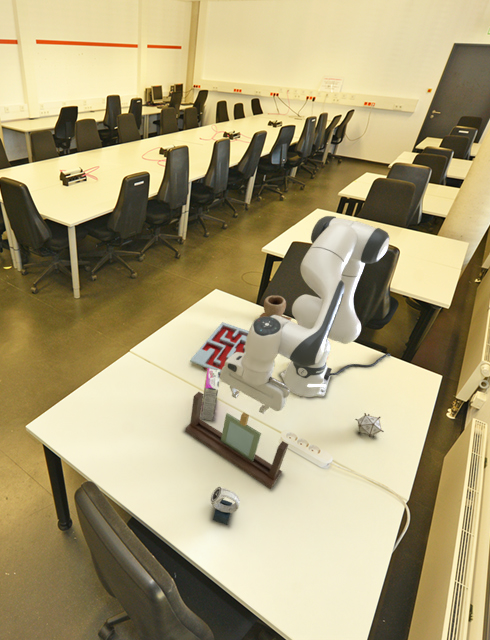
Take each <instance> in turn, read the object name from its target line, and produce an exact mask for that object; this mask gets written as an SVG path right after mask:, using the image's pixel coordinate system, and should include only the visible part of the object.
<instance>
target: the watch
mask: <svg viewBox="0 0 490 640" xmlns="http://www.w3.org/2000/svg"><path fill="white" fill-rule="evenodd" d="M225 498H226V499H230V500H231V501H233V502H234V503H233V502H231V501H228V500H226V499H225ZM210 504H211V505H212V507H213V508H214V513H213V517H212V521H215V522H217V523H220V524H222V525H225V526H228V525H229V520H230V517H231V514H232V513H235V512H237V511H238V509H239V508H240V498H239V496H238V495H237V494H236V493H235V492H234V491H232V490H230V489H227V488H226V487H221V486H218V487H216V488H215V489H214V490H213V492H212V493H211V496H210Z"/></svg>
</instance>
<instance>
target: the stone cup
mask: <svg viewBox="0 0 490 640" xmlns="http://www.w3.org/2000/svg"><path fill="white" fill-rule="evenodd" d="M286 308H287V301H286V299H285V298H284V297H283V296H281V295H273V294H272V295H269V296H267V297H266V298H265V299H264V301H263V311H264V312H262V313H261V314H260V315H259V317H258V318H260V317H264V316H271V315H278V316H281V317H283V318H285V319H288V320H290V321H292V317H289V316H285V315H283V314H284V313H285V310H286Z"/></svg>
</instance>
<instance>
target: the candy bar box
mask: <svg viewBox="0 0 490 640" xmlns="http://www.w3.org/2000/svg"><path fill="white" fill-rule="evenodd" d="M219 387H220V370H218V369H211V368H207V370H206V374H205V381H204V389H203V401H202V408H201V415H200V419H201V420H204V421H205V420H206V421H212V422H213V421H214V419H215V413H216V412H215V411H216V406H217V401H218V400H217V399H218V394H219V393H218V392H219Z"/></svg>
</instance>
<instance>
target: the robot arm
mask: <svg viewBox="0 0 490 640" xmlns="http://www.w3.org/2000/svg"><path fill="white" fill-rule="evenodd" d="M310 242H311V246H310V248H309V249H308V250H307V252H306V253H305V255H304V257H303V259H302V260H301V263H300V268H299V269H300V271H299V272H300V275H301V277H302V279H303V281H304V282H305V284H306V285H307V287H308V288H310V289H311V290H312V291H313V292H314V293H315V294H316V295H318V296H315V295H311V294H302V295H300V296H298V297H297V298H296V299H295V300H294V302H293V303H292V306H291V314H292V316H293V318H294V319H295V321H296V323H295V322H293V321H292V320H291V321H290V320H288V319H285V318H283V317H281V316H278V315H271V316H264V317H260V316H259V317H260V318H259V317H257V318H255V319H254V320H253V322H252V324H251V325H250V328H249V329H248V331H249V332H248V335H247V339H246V343H245V353H240V352H236V353H234V354H233V355H231V356H230V357H229V358H228V359H227V360H226V362H225V366H224V367H223V368H222V370H221V374H220V377H219V380H221V382H222V383H224V384H226V385H228V386H229V389H230V392H231V397H232V398H234V399H237V398H238V397H239V395H240V392H241V393H242V394H244V395H246V396H248V397H249V398H251V399H253V400H256V402H258V403H261V404H262V405H261V406H260V407H259V409H258V412H259V413H261V414H262V415H265V413H266V412H267V410H269V409H272V410H273V411H275V412H280V411H282V410H283V409H284V408H285V406H286V403H287V400H288V397H289V395H290V393H292V394H294V395H296V396H300V397H303V398H313V397H318V398H319V397H320V398H323V397H325V395H326V391H327V390H328V389H327V388H328V385H329V382H330V380H331V379H330V378H331V376H338V375H339V374H340V373H341V372H343V371H344V370H346V369H347V368H350V367H360V368H371V367H374V366H376V365H377V364H378V363H379V362H381V360H383V359H384V358H386V357H392V355H391V353H385V354H383V355H382V356H380V357H379V358H377V359H376V360H375V361H374V362H373V363H371V364H361V363H360V364H359V363H350V364H346V365H345V366H342V368H340V369H339V370H337V371H336V372H332V369H333V368H331V367H329V366H328V365H327V360H329V356H330V352H331V347H332V346H331V343H330V340H331V341H334V342H337V343H340V344H343V345H347V344H351V343H352V342H355V341H356V340H357V338H358V337H359V336H360V334H361V331H362V324H361V321H360V320H359V317H358V316H357V313H356V310H355V305H354V296H355V292H356V290H357V286H358V283H359V281H360V279H361V276H362V274H363V271H364V268H365V265H366V264H370V265H372V264H374V263H377V262H379V261H380V260H381V258H383V256H384V255H385V254H386V253H387V252H388V249H389V246H390V235H389V233H388V232H387V231H386V230H384V229H382V228H380V227H375V226H372V225H370V224H367V223H364V222H361V221H358V220H351V219H346V218H340V217H336V216H333V215H325V216H323V217H321V218H319V219H318V220H317V222H316V223H315V224H314V226H313V228H312V231H311V234H310ZM278 354H279V355H280V356H282V357H284V358H286V359H289V360H290V362H288V364H287V367H286V369H285V370H284V371H282V372H280V375H279V376H280V377H281V379H282V380H283V382H282V381H280V380H278V379H276V378H275V377H273V373H274V369H275V364H276V362H275V361H276V358H277V357H278ZM386 355H388V356H386Z"/></svg>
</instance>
